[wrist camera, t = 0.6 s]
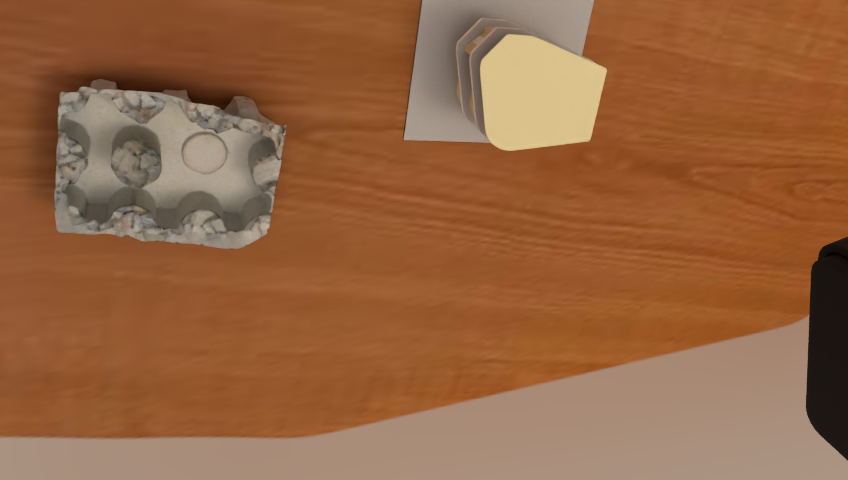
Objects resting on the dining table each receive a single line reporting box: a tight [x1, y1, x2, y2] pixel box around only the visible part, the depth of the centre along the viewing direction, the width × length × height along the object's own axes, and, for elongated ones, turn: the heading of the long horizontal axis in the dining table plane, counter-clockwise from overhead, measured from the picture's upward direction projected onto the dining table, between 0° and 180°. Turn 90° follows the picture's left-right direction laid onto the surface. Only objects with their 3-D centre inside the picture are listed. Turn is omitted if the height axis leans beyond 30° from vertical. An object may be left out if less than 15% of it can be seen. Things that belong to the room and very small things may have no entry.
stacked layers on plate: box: [404, 0, 607, 151], centre depth 43 cm, size 10×9×6 cm
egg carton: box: [54, 79, 286, 249], centre depth 40 cm, size 11×8×4 cm
